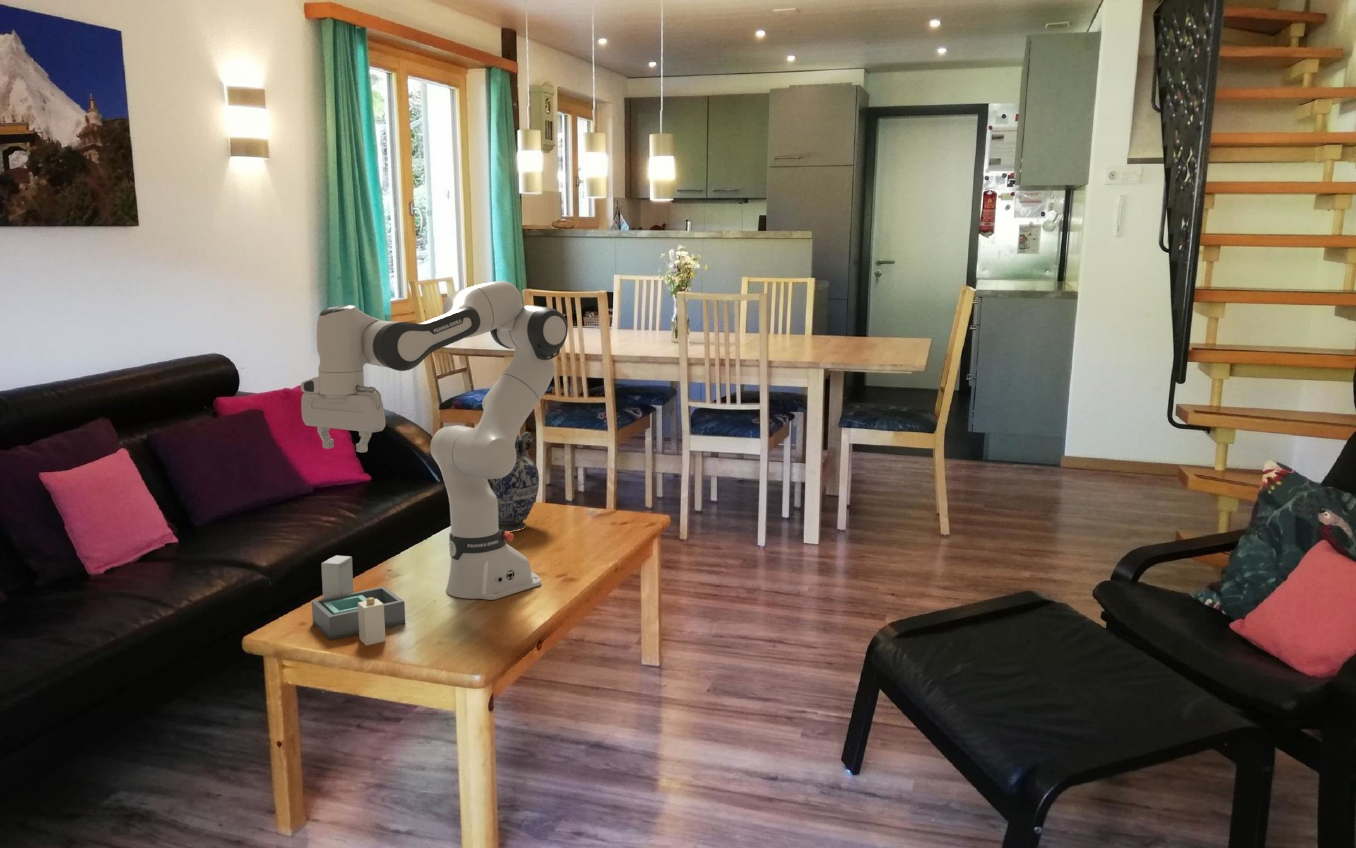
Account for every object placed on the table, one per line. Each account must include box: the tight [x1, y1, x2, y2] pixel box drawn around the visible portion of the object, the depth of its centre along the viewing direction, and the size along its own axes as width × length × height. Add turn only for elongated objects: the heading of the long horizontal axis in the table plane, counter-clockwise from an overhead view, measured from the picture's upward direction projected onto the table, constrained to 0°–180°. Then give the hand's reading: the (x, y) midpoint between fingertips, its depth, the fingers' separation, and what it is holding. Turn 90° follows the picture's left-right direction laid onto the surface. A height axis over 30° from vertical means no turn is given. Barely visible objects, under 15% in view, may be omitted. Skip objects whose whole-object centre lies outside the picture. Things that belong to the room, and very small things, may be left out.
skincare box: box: [321, 554, 354, 599], centre depth 213 cm, size 6×4×12 cm
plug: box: [358, 597, 386, 646], centre depth 197 cm, size 4×4×9 cm
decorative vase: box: [487, 431, 540, 531], centre depth 279 cm, size 21×19×28 cm
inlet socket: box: [323, 595, 366, 615], centre depth 205 cm, size 8×8×4 cm
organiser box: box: [311, 585, 406, 641], centre depth 206 cm, size 16×12×5 cm
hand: (345, 449), depth 200 cm, fingers open, 8 cm apart
